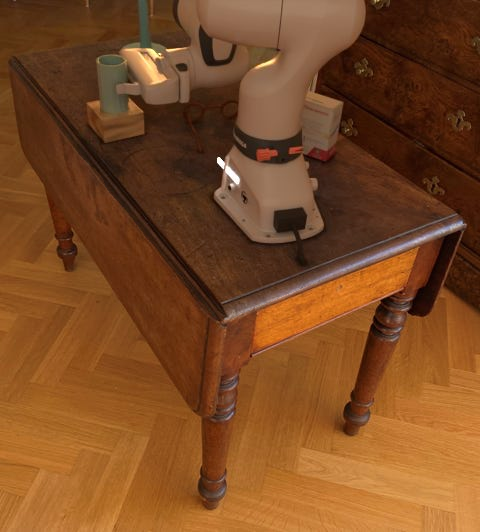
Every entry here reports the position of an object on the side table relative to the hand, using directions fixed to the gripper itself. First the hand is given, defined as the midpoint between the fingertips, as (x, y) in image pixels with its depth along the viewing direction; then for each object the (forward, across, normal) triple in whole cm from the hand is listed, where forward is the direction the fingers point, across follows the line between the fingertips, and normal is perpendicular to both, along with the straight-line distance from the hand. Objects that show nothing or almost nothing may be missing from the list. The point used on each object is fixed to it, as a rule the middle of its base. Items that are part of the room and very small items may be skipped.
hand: (109, 78), depth 122 cm
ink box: (-37, +21, +12) cm, 44 cm away
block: (-1, 0, +11) cm, 11 cm away
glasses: (-21, +9, +12) cm, 26 cm away
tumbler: (-1, 0, +6) cm, 6 cm away
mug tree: (-16, -30, +12) cm, 36 cm away
